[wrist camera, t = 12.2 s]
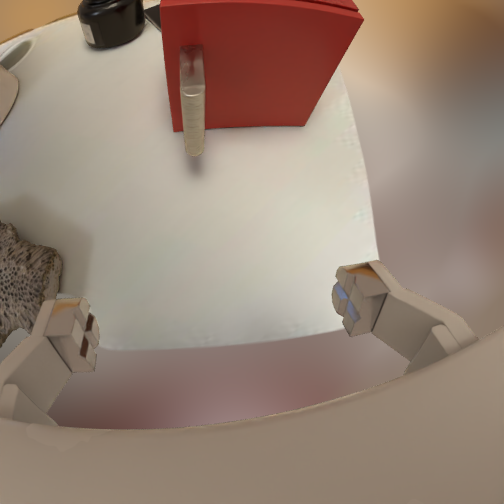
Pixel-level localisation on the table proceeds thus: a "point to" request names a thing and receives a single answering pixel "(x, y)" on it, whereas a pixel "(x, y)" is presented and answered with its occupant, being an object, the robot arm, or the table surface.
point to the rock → (24, 280)
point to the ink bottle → (110, 21)
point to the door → (249, 61)
